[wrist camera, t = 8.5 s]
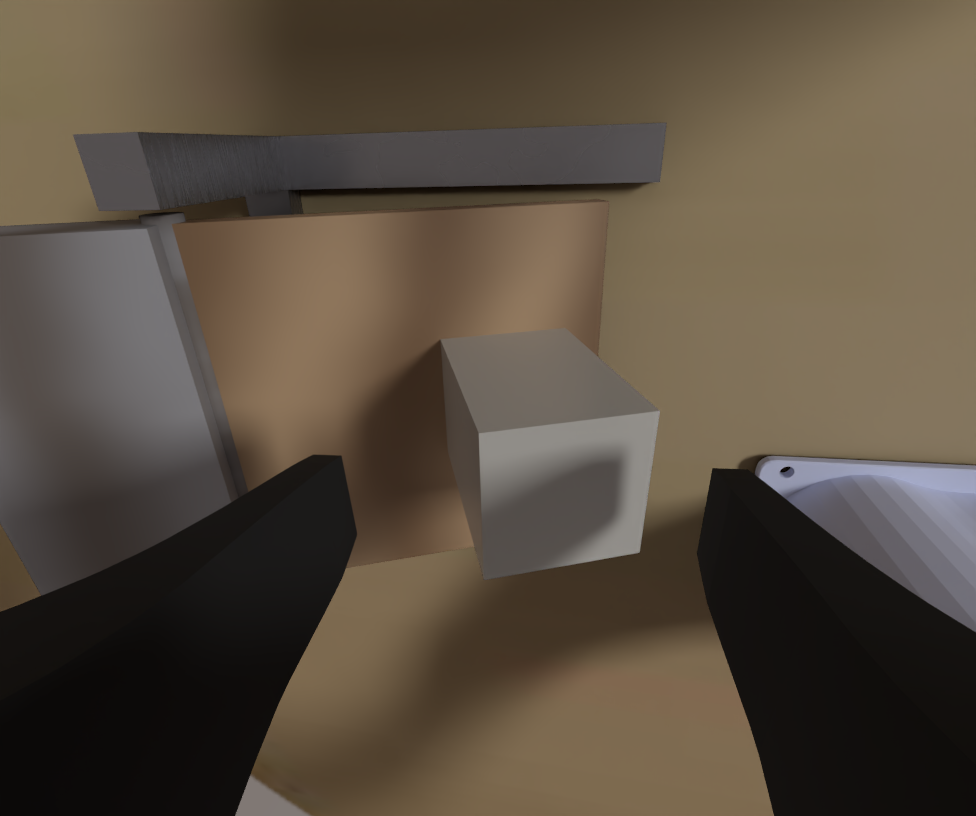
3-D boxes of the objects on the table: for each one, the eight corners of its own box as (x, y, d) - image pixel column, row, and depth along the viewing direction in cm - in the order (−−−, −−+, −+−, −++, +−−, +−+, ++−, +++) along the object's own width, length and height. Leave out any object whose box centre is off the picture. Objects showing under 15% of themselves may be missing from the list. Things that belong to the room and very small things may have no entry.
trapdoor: (588, 190, 16) (621, 196, 14) (570, 507, 22) (592, 545, 20) (-80, 221, 13) (-164, 234, 11) (99, 582, 19) (65, 637, 17)
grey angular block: (662, 124, 16) (721, 109, 10) (617, 532, 23) (635, 674, 17) (239, 138, 18) (65, 134, 12) (320, 512, 25) (239, 632, 19)
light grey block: (565, 327, 16) (660, 410, 11) (559, 436, 18) (639, 552, 13) (440, 339, 16) (478, 433, 10) (447, 451, 18) (483, 580, 12)
